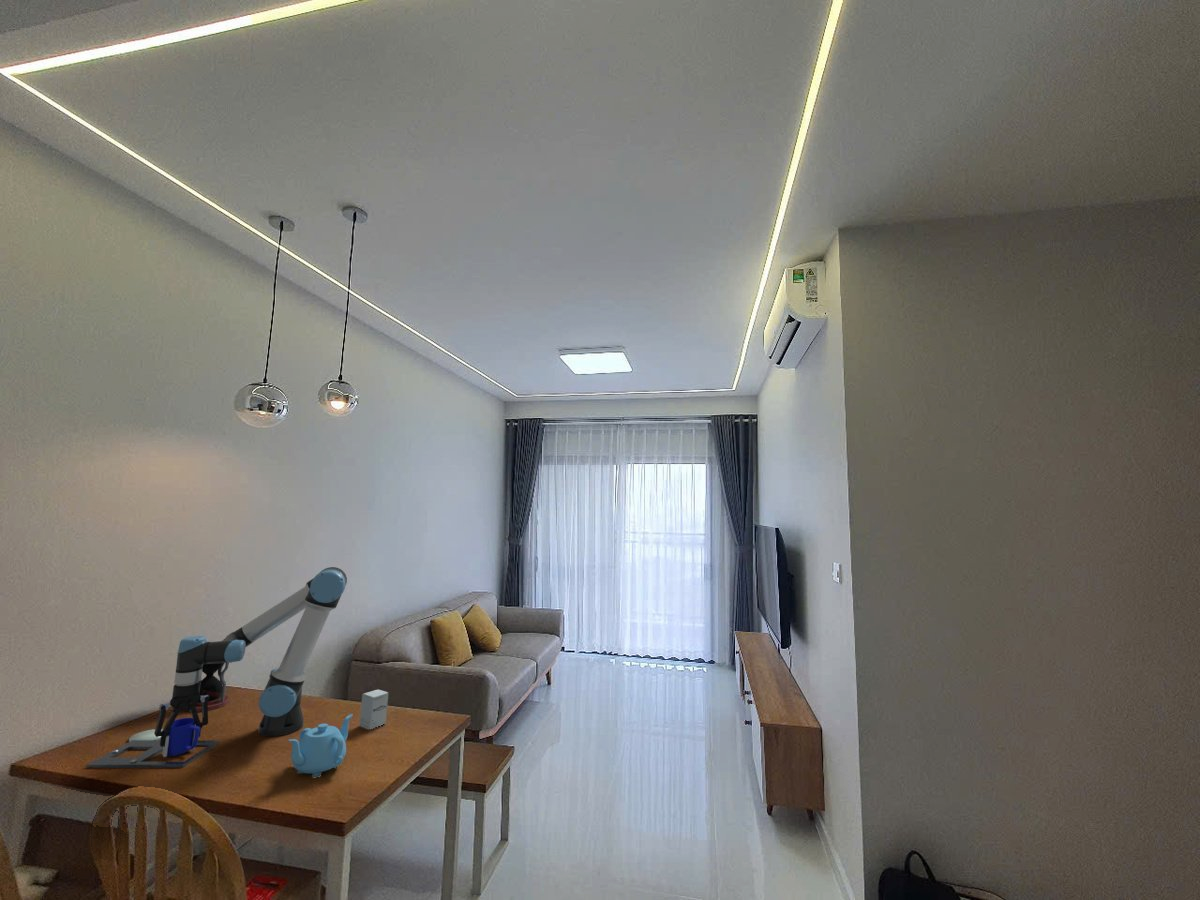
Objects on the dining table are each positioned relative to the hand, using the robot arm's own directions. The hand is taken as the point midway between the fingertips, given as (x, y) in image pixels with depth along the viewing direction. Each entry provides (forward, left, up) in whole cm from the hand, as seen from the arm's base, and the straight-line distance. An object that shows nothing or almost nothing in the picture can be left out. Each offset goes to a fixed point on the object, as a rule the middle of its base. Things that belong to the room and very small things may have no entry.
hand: (179, 751), depth 175 cm
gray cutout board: (+7, 0, -1) cm, 7 cm away
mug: (-1, -1, -1) cm, 1 cm away
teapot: (-52, +10, -1) cm, 53 cm away
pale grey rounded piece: (+20, -14, -1) cm, 25 cm away
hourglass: (+21, -46, -1) cm, 51 cm away
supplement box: (-57, -25, -1) cm, 62 cm away
